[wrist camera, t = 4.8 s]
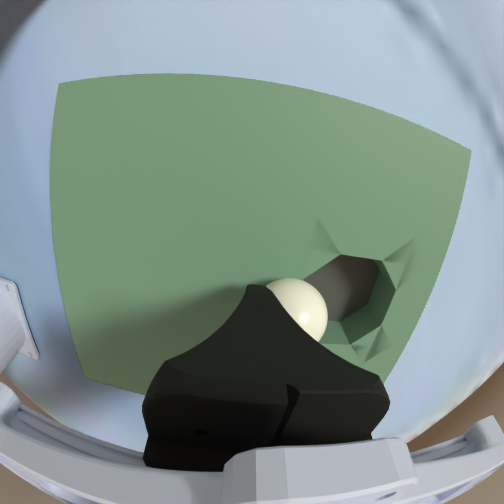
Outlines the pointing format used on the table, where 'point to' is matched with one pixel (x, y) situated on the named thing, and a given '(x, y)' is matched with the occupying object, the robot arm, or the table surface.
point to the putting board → (240, 215)
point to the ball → (302, 304)
